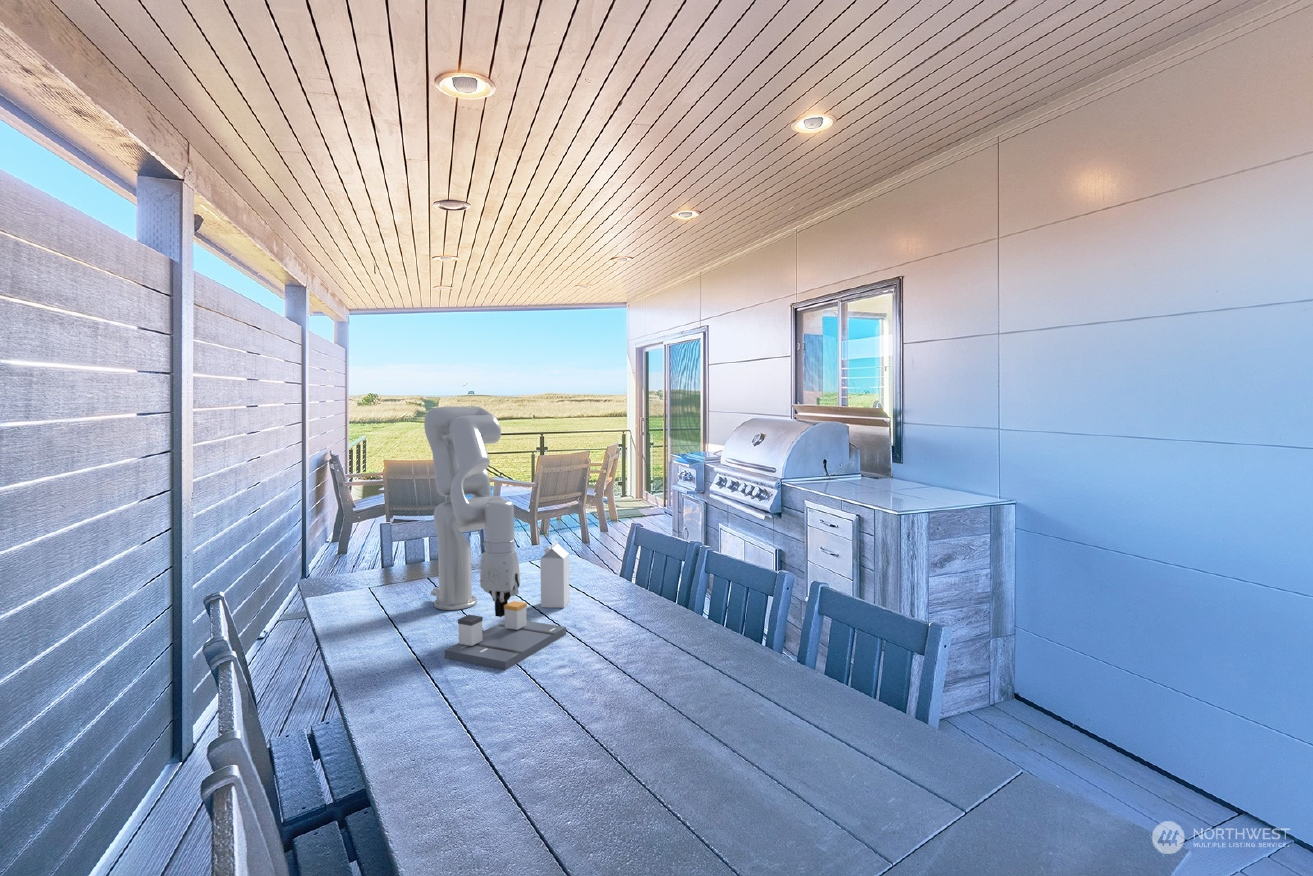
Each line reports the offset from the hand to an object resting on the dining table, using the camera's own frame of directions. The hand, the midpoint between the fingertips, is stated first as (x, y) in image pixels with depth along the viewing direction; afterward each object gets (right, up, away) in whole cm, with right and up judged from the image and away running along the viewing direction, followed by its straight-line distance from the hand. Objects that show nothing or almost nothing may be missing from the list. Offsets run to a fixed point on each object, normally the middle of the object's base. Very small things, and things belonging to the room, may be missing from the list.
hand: (501, 615), depth 181 cm
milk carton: (+11, -4, +25) cm, 28 cm away
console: (+4, -5, -9) cm, 11 cm away
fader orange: (+4, -3, -2) cm, 5 cm away
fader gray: (-5, -3, -13) cm, 14 cm away
